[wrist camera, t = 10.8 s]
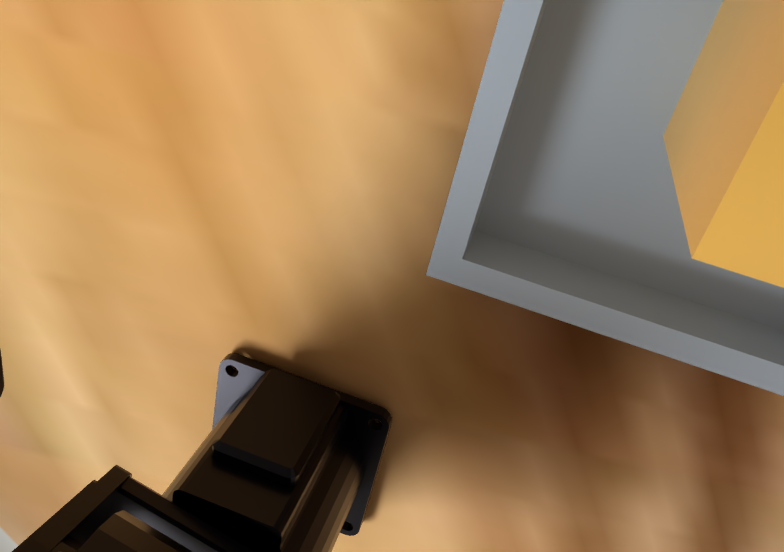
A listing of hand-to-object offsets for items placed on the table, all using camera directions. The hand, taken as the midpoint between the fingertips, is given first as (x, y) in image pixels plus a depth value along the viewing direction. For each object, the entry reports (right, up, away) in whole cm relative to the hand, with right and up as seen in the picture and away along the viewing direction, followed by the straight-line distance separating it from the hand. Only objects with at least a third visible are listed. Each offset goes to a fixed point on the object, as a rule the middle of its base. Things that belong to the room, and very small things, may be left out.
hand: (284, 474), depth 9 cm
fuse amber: (+10, +7, +6) cm, 14 cm away
